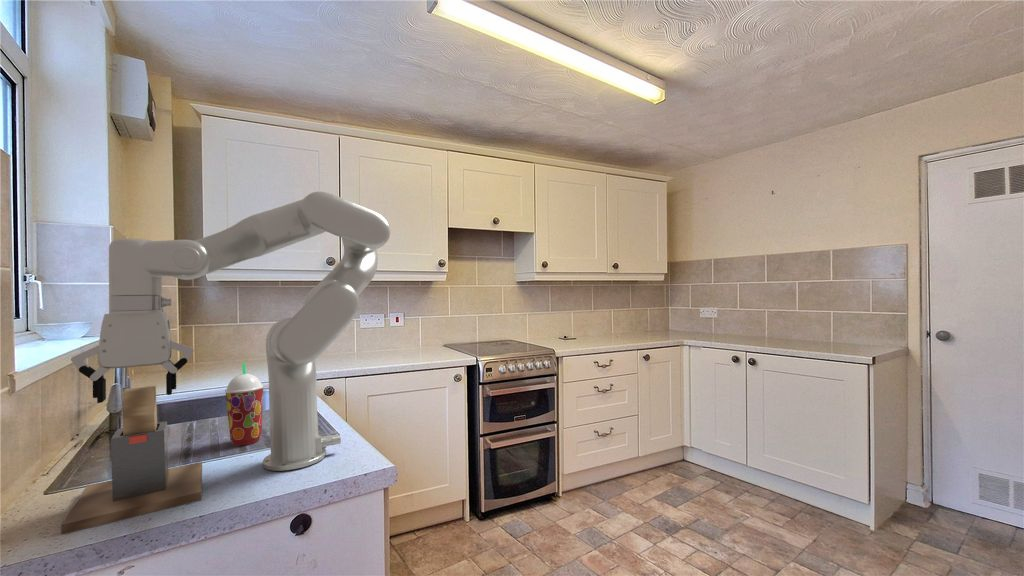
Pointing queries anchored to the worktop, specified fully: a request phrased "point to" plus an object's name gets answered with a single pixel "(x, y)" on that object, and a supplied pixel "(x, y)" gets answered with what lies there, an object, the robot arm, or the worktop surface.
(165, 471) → the sleeve
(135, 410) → the post
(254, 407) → the smoothie
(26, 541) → the worktop surface
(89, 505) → the base board
